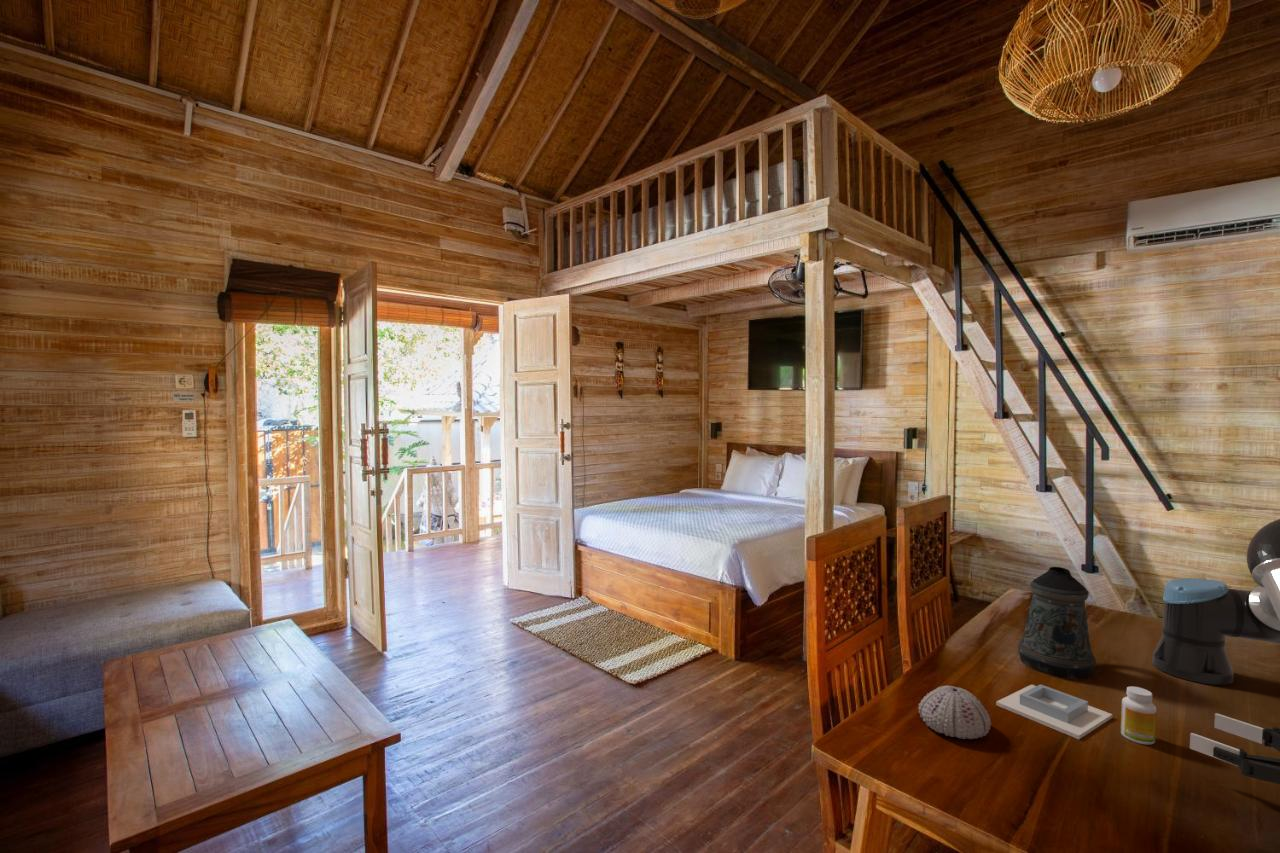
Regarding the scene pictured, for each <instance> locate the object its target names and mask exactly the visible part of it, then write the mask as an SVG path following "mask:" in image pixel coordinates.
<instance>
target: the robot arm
mask: <svg viewBox="0 0 1280 853" xmlns="http://www.w3.org/2000/svg"><path fill="white" fill-rule="evenodd" d="M1246 564H1247V568H1248V570H1249V574H1250V575H1251V577H1252V579H1253V581H1254V583H1255V584H1257V586H1256V587H1254V588H1253V589H1252V590H1246V589H1238V588H1237V589H1235V588H1229V587H1228V585H1227V584H1226V583H1224V582H1223V581H1219V580H1215V579H1207V578H1199V577H1198V578H1197V577H1183V578H1176V579H1175V578H1173V579H1171V580H1169V581H1168V582H1167V583H1166V584H1165V586H1164V592H1163V596H1162V599H1163V608H1162V609H1163V614H1162V634H1161V635H1162V636H1161V638H1160V640H1159V641H1158V644H1157V645H1156V648H1155V649H1154V651H1153V653H1152V658H1151V660H1152V661H1151V663H1152V665H1153V666H1154V667H1155V668H1157V669H1158V670H1160V671H1161V672H1164V673H1166V674H1168V675H1171V676H1174V677H1177V678H1178V679H1182V680H1186V681H1191V682H1194V683H1200V684H1206V685H1213V686H1214V685H1215V686H1227V685H1231V684H1233V683H1234V674H1235V673H1234V670H1233V667H1232V664H1231V662H1230V659H1229V657H1228V653H1227V651H1226V648H1225V646H1226V637H1229V638H1230V637H1231V638H1239V639H1245V640H1246V639H1247V640H1253V641H1260V642H1266V643H1267V642H1268V643H1274V644H1280V518H1278V519H1275V520H1273V521H1270V522H1268V523H1267V524H1265V525H1264V526H1263V527H1261V528H1260V529H1259V530H1258V531H1257V532H1256V533H1255V534H1254V536H1252V538H1251V539H1250V542H1249V544H1248V546H1247V551H1246ZM1213 725H1214V729H1216V730H1219V731H1223V732H1226V733H1228V734H1232V735H1233V736H1234V735H1235V736H1238V737H1240V738H1244V739H1246V740H1249V741H1252V742H1255V743H1257V744H1263V745H1264V746H1263V747H1266V748H1267V747H1268V748H1270V747H1271V748H1274V749H1275V750H1277V751H1278V752H1280V728H1279V727H1276V726H1273V727H1272V728H1263V727H1260V726H1258V725H1254V724H1251V723H1248V722H1245V721H1242V720H1239V719H1236V718H1232V717H1229V716H1227V715H1223V714H1220V713H1218V712H1216V713H1214V724H1213ZM1189 735H1190V736H1189V749H1191V750H1193V751H1196V752H1198V753H1201V754H1204V755H1207V756H1208V757H1209V756H1210V757H1212V758H1215V759H1218V760H1219V761H1220V760H1221V761H1222V762H1224V763H1228V764H1231V765H1233V766H1236V767H1238V769H1240V774H1241V775H1243V776H1244V777H1248V778H1252V779H1255V780H1257V779H1258V780H1262V781H1264V782H1270V783H1274V784H1278V785H1280V758H1277V757H1269V756H1262V755H1256V754H1250V753H1249V754H1248V753H1247V752H1246V751H1245V750H1244V749H1243V748H1239V749H1238V748H1236V747H1233V746H1230V745H1227V744H1225V743H1221V742H1219V741H1217V740H1213V739H1211V738H1208V737H1205V736H1204V735H1203V736H1202V735H1200V734H1197V733H1194V732H1191V733H1190V734H1189Z"/></svg>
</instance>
